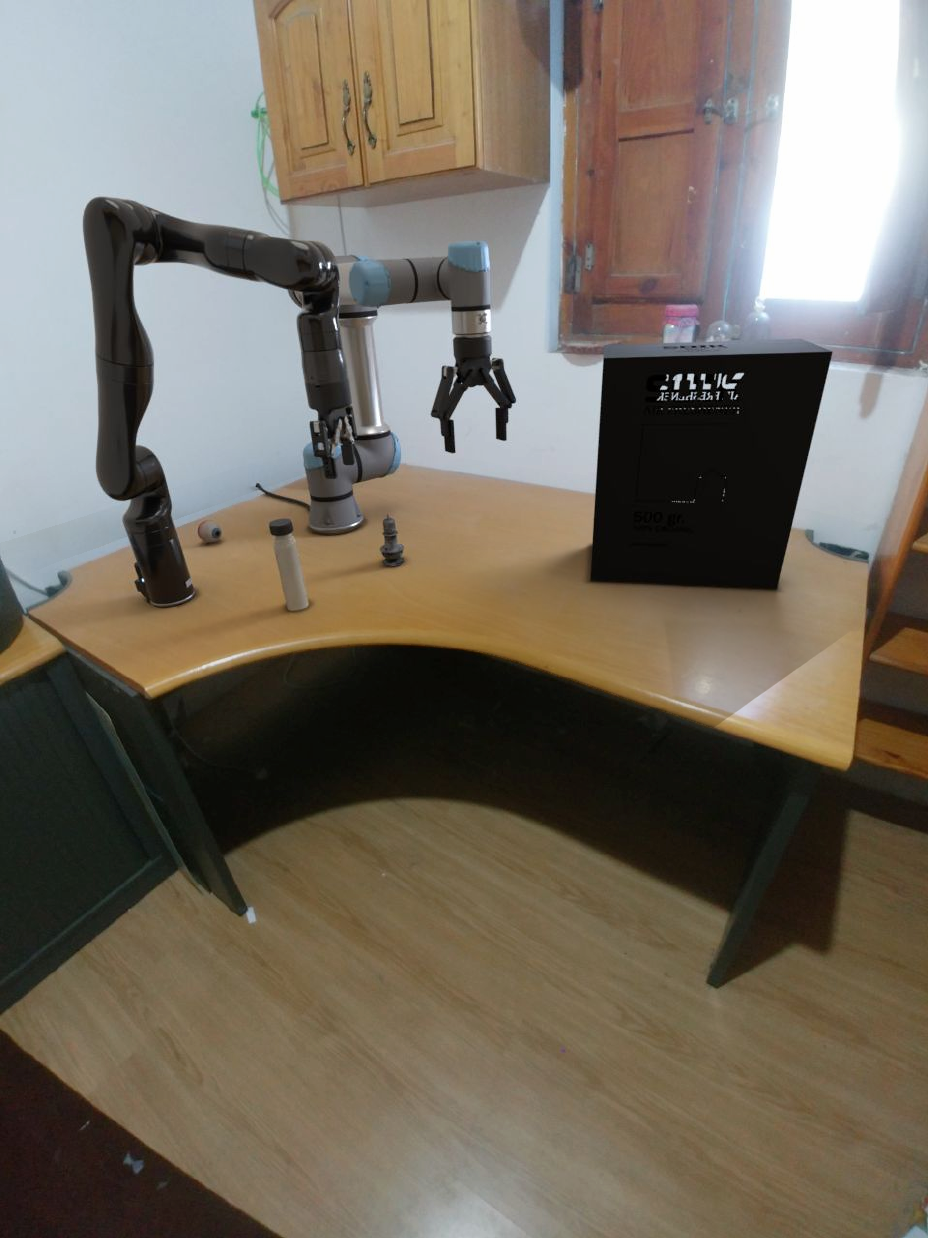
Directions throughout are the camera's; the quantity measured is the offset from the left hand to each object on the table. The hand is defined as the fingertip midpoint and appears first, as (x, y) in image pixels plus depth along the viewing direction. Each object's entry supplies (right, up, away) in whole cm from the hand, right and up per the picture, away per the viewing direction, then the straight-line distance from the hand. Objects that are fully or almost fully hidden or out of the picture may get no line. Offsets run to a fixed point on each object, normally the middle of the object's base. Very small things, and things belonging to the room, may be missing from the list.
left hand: (340, 471), depth 111 cm
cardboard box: (+71, -15, +25) cm, 77 cm away
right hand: (+25, +9, +16) cm, 31 cm away
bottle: (-13, -24, +18) cm, 33 cm away
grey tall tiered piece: (+6, -14, +35) cm, 38 cm away
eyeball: (-45, -7, +52) cm, 69 cm away
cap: (-14, -8, +8) cm, 18 cm away
